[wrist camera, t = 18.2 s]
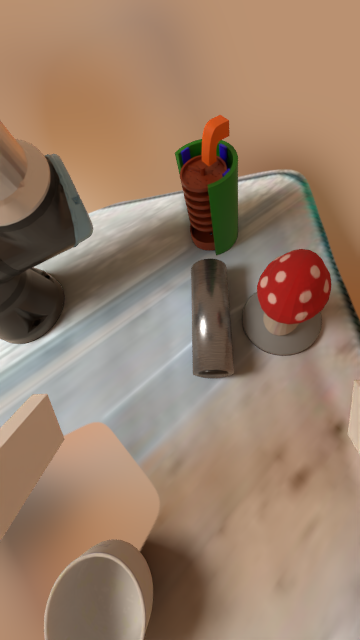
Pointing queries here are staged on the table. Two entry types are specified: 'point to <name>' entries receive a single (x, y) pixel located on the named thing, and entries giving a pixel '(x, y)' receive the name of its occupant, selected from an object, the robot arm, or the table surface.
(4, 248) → the robot arm
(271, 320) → the decorative mushroom
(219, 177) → the motor
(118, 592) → the teacup
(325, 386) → the table surface
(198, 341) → the metal pipe
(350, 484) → the table surface
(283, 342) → the rubber mat
